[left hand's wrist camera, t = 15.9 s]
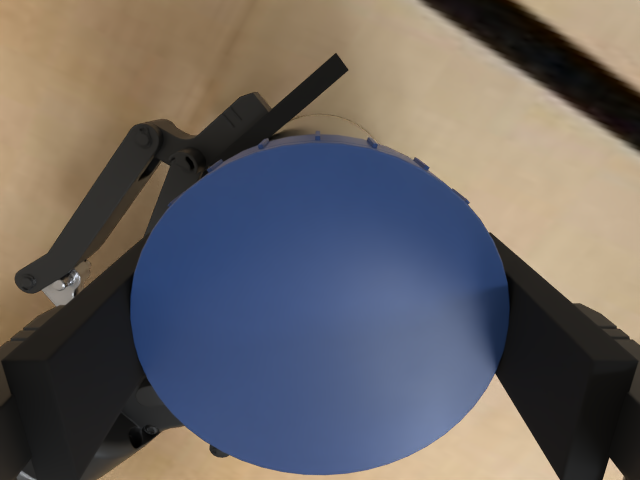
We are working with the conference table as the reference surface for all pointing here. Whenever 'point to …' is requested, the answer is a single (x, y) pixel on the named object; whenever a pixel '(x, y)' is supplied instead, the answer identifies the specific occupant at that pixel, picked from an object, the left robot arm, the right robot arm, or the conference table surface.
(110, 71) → the conference table surface
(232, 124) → the right robot arm
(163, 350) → the lid
